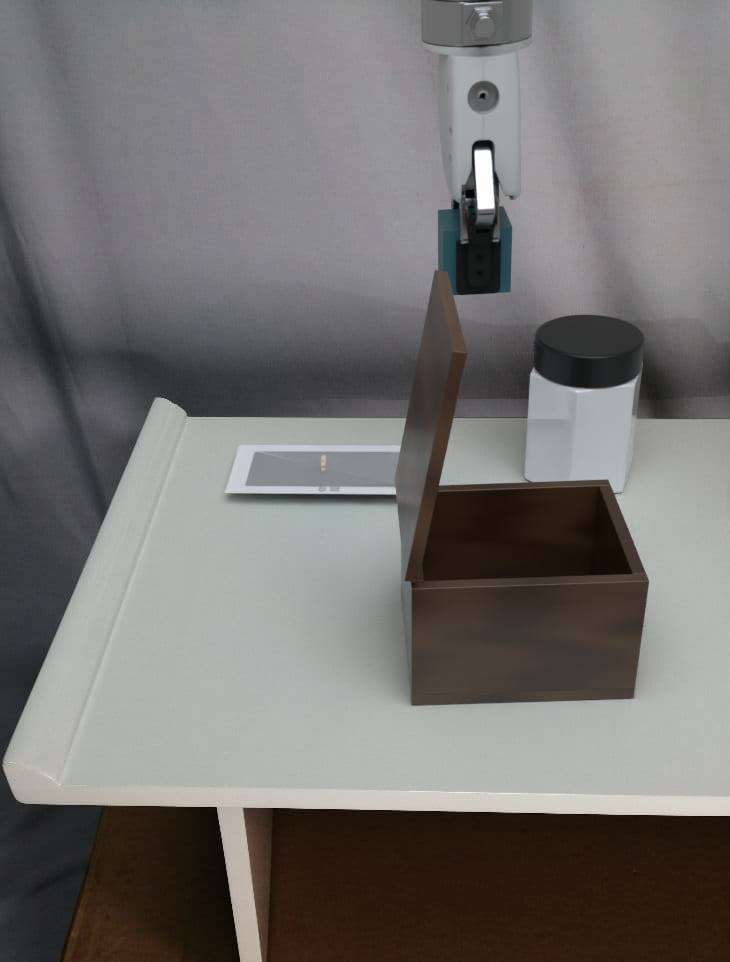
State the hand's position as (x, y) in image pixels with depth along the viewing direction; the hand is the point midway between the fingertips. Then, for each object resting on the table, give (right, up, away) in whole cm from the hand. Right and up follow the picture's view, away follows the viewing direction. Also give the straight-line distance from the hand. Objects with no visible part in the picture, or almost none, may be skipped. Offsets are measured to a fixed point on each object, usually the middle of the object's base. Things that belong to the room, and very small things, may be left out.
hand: (473, 276), depth 90 cm
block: (0, 0, 0) cm, 0 cm away
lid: (-5, -13, -21) cm, 26 cm away
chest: (+1, -27, -13) cm, 30 cm away
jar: (+9, -15, +5) cm, 18 cm away
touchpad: (-11, -15, +6) cm, 20 cm away
